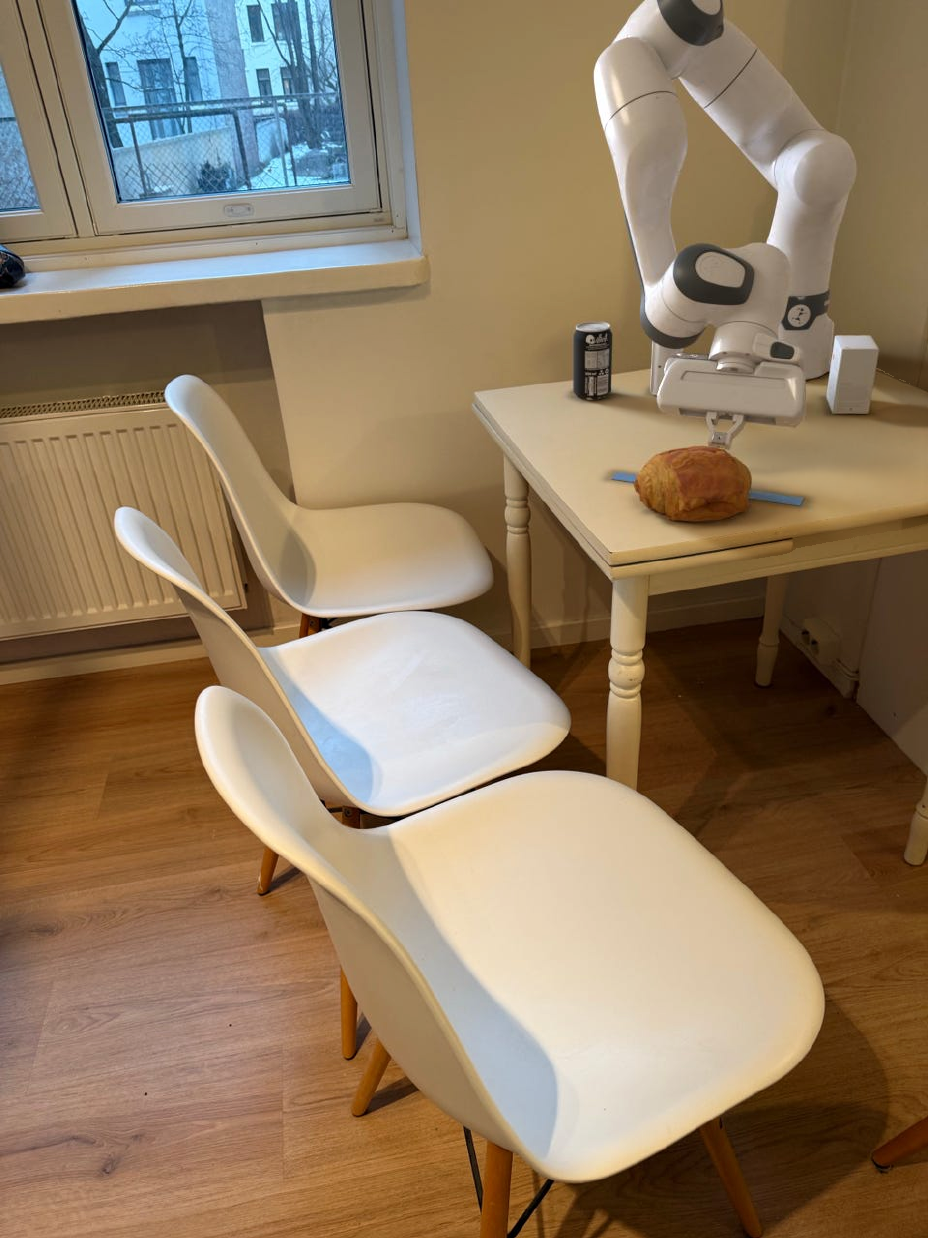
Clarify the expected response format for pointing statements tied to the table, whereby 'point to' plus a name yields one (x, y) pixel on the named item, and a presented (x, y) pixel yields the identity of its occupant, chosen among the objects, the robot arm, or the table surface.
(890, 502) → the table surface
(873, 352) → the small box
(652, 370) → the photo printer
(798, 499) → the tape line
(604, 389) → the beverage can
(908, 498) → the table surface
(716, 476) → the croissant
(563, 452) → the table surface
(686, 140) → the robot arm
